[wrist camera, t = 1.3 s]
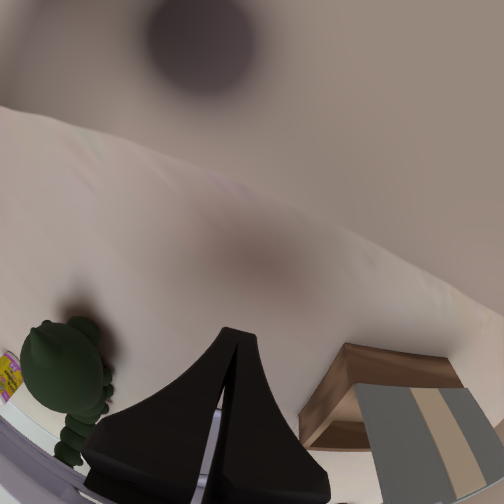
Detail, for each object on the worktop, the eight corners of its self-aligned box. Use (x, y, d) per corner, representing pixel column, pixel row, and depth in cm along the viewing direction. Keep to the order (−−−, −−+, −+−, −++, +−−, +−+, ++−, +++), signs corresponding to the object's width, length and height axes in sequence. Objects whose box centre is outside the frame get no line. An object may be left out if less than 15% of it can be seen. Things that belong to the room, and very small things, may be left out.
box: (393, 421, 27) (401, 449, 23) (298, 414, 27) (299, 449, 23) (447, 358, 23) (464, 387, 18) (344, 342, 23) (354, 381, 18)
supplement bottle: (33, 380, 35) (1, 421, 23) (16, 371, 35) (-14, 407, 24) (18, 355, 32) (-19, 396, 20) (2, 346, 33) (-32, 383, 21)
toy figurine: (128, 409, 34) (125, 295, 22) (86, 504, 17) (7, 468, 6) (79, 383, 34) (53, 258, 22) (30, 468, 17) (-69, 379, 5)
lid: (510, 474, 6) (516, 468, 6) (387, 526, 6) (396, 521, 6) (463, 392, 18) (467, 386, 18) (353, 388, 18) (357, 381, 18)
